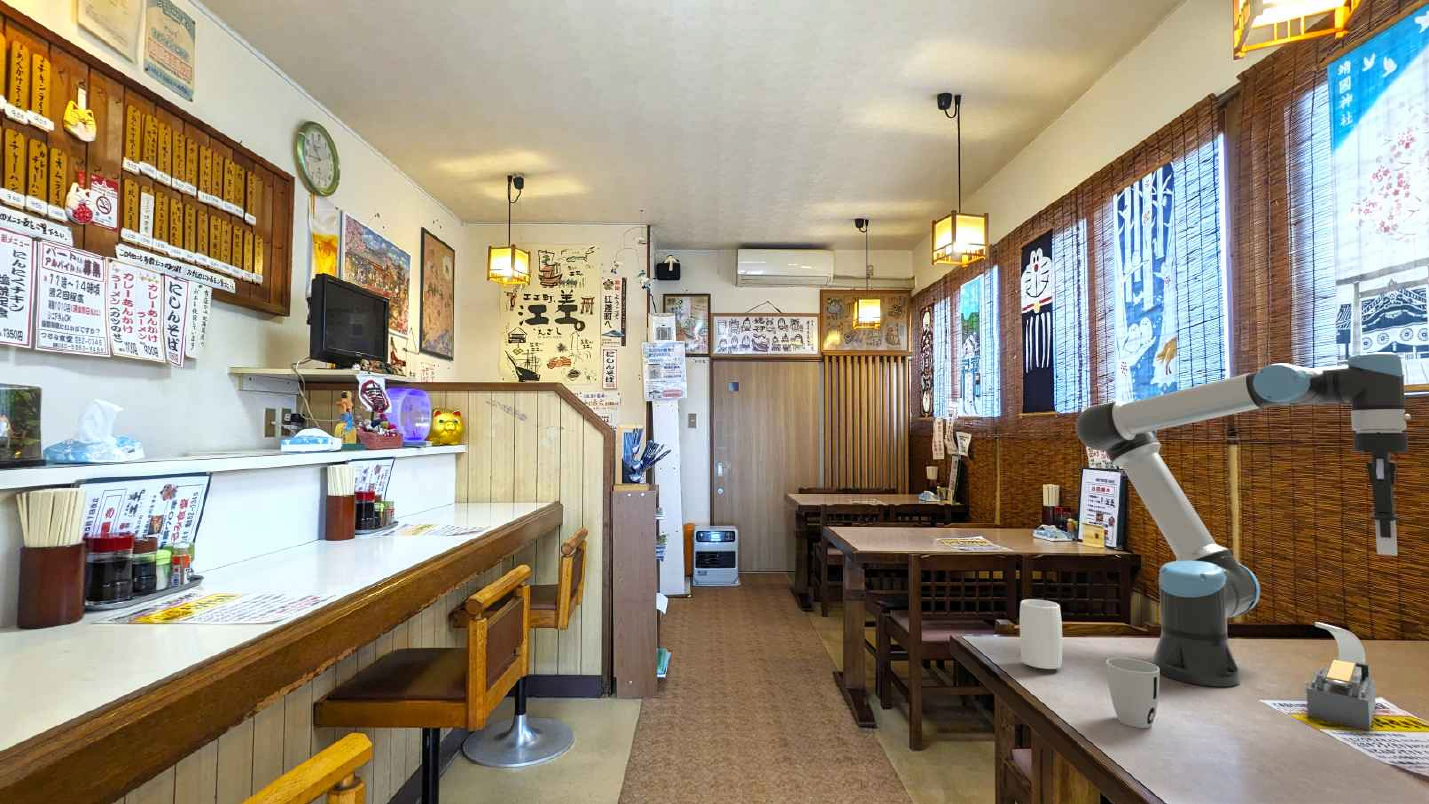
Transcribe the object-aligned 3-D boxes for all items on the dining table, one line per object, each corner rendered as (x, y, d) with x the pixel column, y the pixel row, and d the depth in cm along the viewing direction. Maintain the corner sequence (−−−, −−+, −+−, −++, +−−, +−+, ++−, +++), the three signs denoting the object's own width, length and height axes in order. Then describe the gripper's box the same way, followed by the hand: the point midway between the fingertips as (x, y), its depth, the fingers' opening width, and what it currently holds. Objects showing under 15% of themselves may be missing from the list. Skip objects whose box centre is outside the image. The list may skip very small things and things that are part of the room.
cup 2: (1162, 735, 112) (1160, 675, 113) (1107, 725, 116) (1105, 667, 117) (1160, 719, 119) (1158, 662, 120) (1108, 709, 123) (1106, 654, 124)
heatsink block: (1369, 730, 114) (1367, 685, 115) (1308, 716, 120) (1305, 673, 121) (1375, 706, 125) (1373, 665, 126) (1318, 694, 131) (1316, 655, 132)
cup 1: (1053, 678, 140) (1051, 610, 141) (1014, 667, 146) (1012, 602, 147) (1069, 669, 145) (1067, 603, 146) (1030, 659, 152) (1029, 597, 153)
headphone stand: (1317, 680, 139) (1314, 622, 140) (1344, 679, 139) (1340, 621, 140) (1340, 688, 134) (1337, 628, 135) (1367, 687, 135) (1363, 627, 136)
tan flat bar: (1349, 686, 119) (1349, 681, 119) (1326, 682, 121) (1326, 676, 121) (1355, 668, 127) (1354, 663, 127) (1334, 664, 130) (1333, 659, 130)
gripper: (1405, 431, 122) (1414, 560, 120) (1408, 432, 130) (1416, 553, 129) (1349, 431, 127) (1357, 555, 126) (1355, 432, 136) (1362, 548, 134)
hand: (1387, 554), depth 127 cm, fingers closed
